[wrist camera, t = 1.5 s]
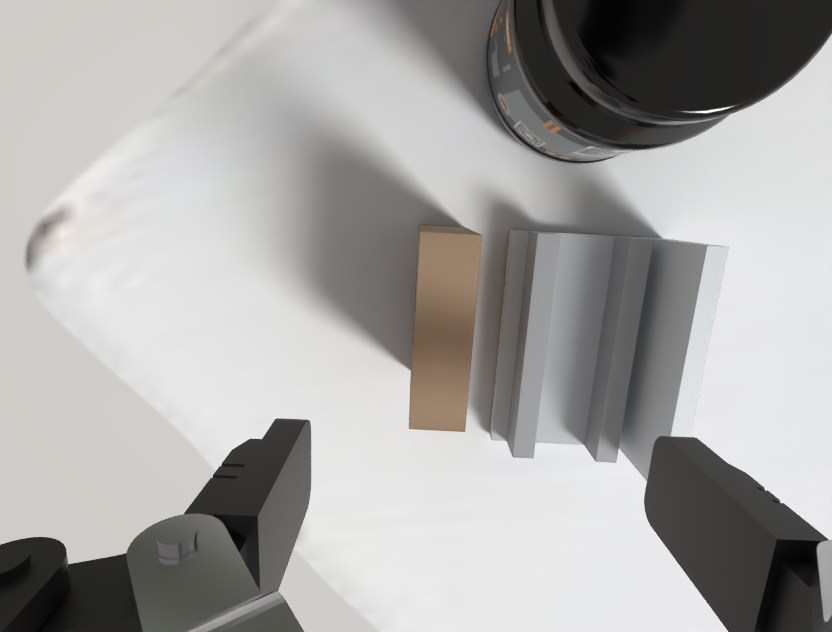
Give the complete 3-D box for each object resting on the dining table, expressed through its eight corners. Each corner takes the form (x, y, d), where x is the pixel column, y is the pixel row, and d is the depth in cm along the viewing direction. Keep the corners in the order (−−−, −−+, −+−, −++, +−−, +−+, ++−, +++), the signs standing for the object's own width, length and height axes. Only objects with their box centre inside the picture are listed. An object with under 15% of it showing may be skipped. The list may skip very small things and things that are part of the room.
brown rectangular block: (419, 224, 28) (420, 231, 20) (463, 226, 28) (482, 235, 20) (410, 370, 30) (408, 428, 22) (452, 372, 30) (465, 431, 22)
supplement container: (606, -95, 24) (785, -377, 12) (711, 83, 26) (954, -18, 14) (441, 47, 26) (462, -87, 14) (552, 205, 27) (653, 204, 16)
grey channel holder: (510, 229, 28) (534, 235, 22) (663, 238, 28) (728, 247, 22) (489, 434, 31) (506, 487, 25) (628, 441, 31) (678, 496, 25)
